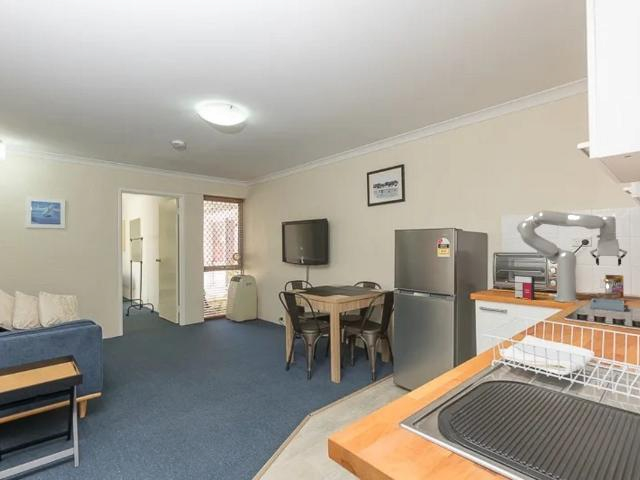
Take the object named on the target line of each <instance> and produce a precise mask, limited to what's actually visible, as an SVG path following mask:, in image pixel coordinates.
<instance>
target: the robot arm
mask: <svg viewBox="0 0 640 480" xmlns="http://www.w3.org/2000/svg"><path fill="white" fill-rule="evenodd" d="M616 223H617V220H616V217H615V216H599V215H591V214H581V213H580V214H579V213H571V212H562V211H561V212H560V211H552V210H539V211H537V212H535V213H533V214H532V215H531V216H529V217H526V219H525V218H524V220H522V221H520V222H518V224H517V226H516V230H517V232H518V233H520V238H521V239H522V241H523V243H525V244H526V246H529V247H530V248H533V250H536V252H537V253H538V255H540V256H541V257H543V258H545V259H547V260H549V261H551V262H552V263H554V264H556V265H557V266H556V293H548V297H549V298H554V299H553V300H554V301H555V302H560V303H565V302H579V301H580V300H579V299H577V296H576V294H577V292H576V291H577V287H576V286H577V284H576V283H577V282H576V279H577V277H576V267H577V256H576V254H575V253H574V252H572V251H571V250H563V249H561V248H559V247H558V246H557V245H556V243H554V242H552V241H550V240H549V239H547V238H544V237H542V236H540V235H539V234H537V232H536V231H535V229H537V228H539V227H541V226H542V225H549V226H551V225H552V226H557V227H558V226H559V227H570V228H571V227H579V228H580V227H581V228H582V227H583V228H585V229H587V230H595V229H596V230H597V229H599V234H597V235H596V238H598V240H597V245H596V246H597V247H596V249H595V248H594V249H593V250H591V251H589V253H590V254H591V256H592V257H593V258H594V259H595V264H596V265H597V266H599V265H600V257H601V256H603V257H605V256H606V257H610V256H611V257H617V258H618V259H617V266H618V267H620V265H622V259H623V258H624V257H626V255H627V254H628V251H626V250H624V249H622V248H620V244H619V240H618V239H617V232H616V231H617V229H616ZM595 252H596V253H597V255H595V254H594V253H595ZM620 253H623V254H622V255H620Z"/></svg>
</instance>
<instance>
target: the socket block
mask: <svg viewBox="0 0 640 480" xmlns="http://www.w3.org/2000/svg"><path fill="white" fill-rule="evenodd" d="M597 299H608V300H621V298H620V295H619V294H612V295H605V292H604V293H603V292H602V293H601V292H599V293H597Z"/></svg>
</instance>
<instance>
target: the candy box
mask: <svg viewBox="0 0 640 480" xmlns="http://www.w3.org/2000/svg"><path fill="white" fill-rule="evenodd" d="M604 279H609V280H613V282H612V294H619V295H620V299H624V298H625V297H624V293H625V292H624V275H622V274H621V275H620V274H619V275H618V274H605V276H604Z"/></svg>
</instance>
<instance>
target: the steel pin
mask: <svg viewBox="0 0 640 480" xmlns="http://www.w3.org/2000/svg"><path fill="white" fill-rule="evenodd" d="M603 282H605V283H604V289H605V290H604V293H605V295H612V282H613V280H609V279H605V278H604V279H603Z"/></svg>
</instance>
